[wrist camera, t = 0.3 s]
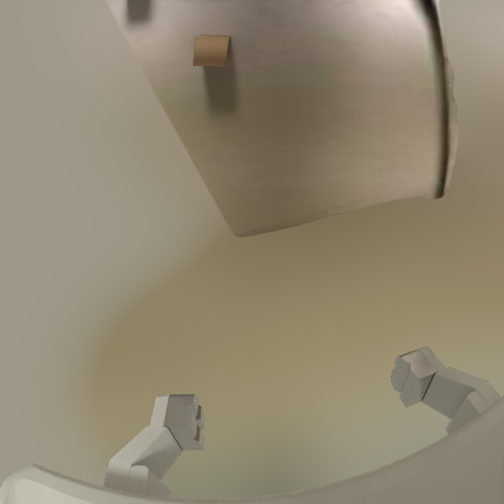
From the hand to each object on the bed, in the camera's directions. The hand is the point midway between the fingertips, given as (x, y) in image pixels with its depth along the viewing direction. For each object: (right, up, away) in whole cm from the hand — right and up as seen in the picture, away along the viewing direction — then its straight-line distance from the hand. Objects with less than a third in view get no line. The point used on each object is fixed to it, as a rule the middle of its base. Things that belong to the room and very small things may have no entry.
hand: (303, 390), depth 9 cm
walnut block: (-9, +44, +31) cm, 54 cm away
